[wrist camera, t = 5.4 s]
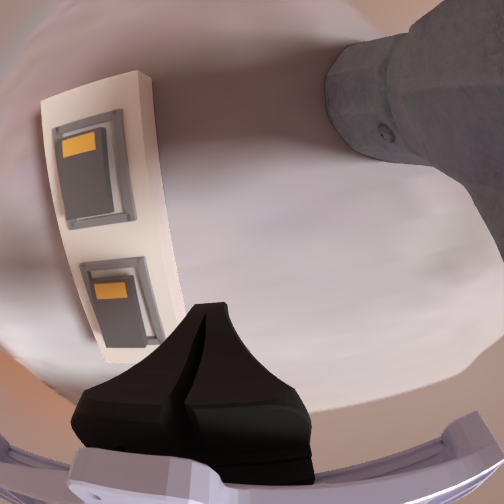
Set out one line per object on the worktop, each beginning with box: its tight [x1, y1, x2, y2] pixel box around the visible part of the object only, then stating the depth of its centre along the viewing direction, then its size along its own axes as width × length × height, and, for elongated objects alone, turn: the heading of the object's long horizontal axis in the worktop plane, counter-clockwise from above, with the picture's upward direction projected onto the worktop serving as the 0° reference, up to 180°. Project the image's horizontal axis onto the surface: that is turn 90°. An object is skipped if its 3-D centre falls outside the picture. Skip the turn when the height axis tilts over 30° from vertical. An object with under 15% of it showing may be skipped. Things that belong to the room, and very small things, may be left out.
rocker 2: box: [89, 275, 148, 348], centre depth 18 cm, size 5×3×1 cm, turn 5°
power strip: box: [41, 70, 187, 364], centre depth 19 cm, size 20×7×3 cm, turn 5°
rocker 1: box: [57, 127, 114, 221], centre depth 14 cm, size 5×3×1 cm, turn 5°
